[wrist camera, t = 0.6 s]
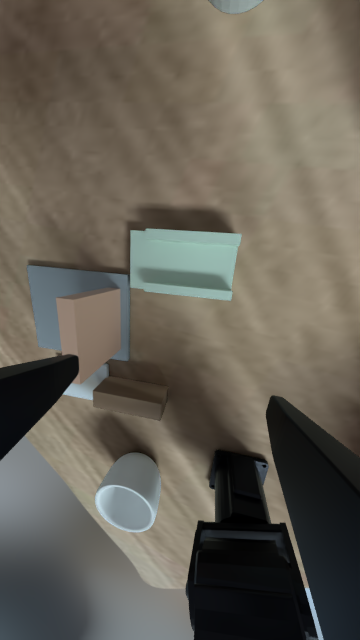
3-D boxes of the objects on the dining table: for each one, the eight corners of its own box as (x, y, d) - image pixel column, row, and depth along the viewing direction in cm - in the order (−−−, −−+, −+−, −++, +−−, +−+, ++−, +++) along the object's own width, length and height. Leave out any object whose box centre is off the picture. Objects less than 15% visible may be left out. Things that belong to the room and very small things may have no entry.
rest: (228, 296, 19) (230, 300, 16) (134, 286, 20) (124, 289, 18) (237, 238, 17) (241, 234, 15) (134, 232, 19) (123, 227, 16)
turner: (166, 411, 24) (159, 432, 21) (63, 391, 26) (43, 407, 23) (169, 374, 22) (162, 390, 19) (59, 355, 25) (37, 367, 22)
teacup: (110, 441, 27) (86, 482, 22) (161, 444, 26) (148, 487, 21) (125, 492, 30) (107, 539, 25) (172, 497, 28) (163, 548, 23)
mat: (129, 359, 23) (127, 361, 22) (42, 344, 24) (38, 346, 24) (129, 274, 20) (127, 275, 19) (31, 265, 22) (26, 265, 21)
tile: (120, 348, 22) (80, 384, 15) (109, 347, 22) (64, 381, 15) (120, 288, 20) (73, 299, 13) (107, 287, 20) (55, 297, 13)
